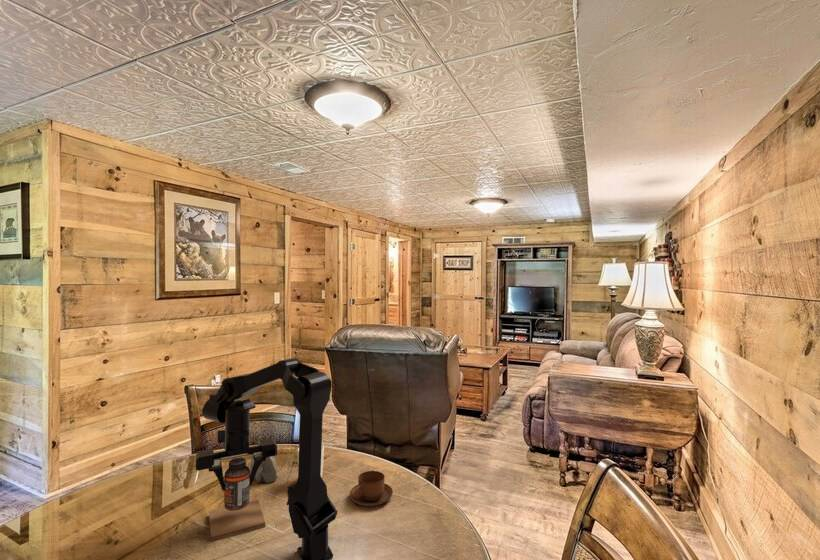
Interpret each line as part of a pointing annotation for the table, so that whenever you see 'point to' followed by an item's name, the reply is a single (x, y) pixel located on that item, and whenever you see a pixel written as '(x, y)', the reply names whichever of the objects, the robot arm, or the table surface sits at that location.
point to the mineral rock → (267, 471)
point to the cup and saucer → (371, 489)
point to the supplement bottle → (237, 485)
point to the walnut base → (235, 521)
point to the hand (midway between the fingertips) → (237, 487)
